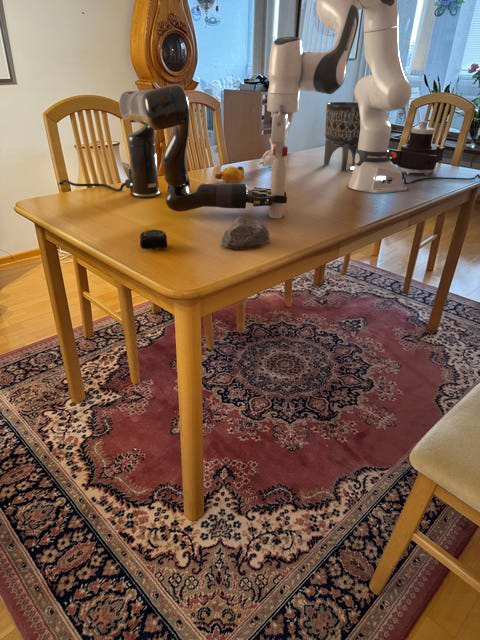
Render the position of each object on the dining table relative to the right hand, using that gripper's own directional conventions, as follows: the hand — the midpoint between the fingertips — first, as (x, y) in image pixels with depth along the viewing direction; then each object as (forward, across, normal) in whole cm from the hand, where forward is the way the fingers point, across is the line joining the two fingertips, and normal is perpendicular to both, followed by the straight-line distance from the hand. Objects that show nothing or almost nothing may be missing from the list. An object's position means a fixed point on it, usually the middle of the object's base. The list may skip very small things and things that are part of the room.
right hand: (279, 156), depth 134 cm
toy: (+18, +42, +22) cm, 51 cm away
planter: (+18, +82, -23) cm, 87 cm away
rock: (+18, -27, +5) cm, 33 cm away
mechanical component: (+18, +83, -57) cm, 103 cm away
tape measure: (+18, -35, +28) cm, 48 cm away
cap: (-2, 0, 0) cm, 2 cm away
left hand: (+12, 0, -3) cm, 12 cm away
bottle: (+18, 0, 0) cm, 18 cm away
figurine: (+18, +72, +10) cm, 75 cm away
